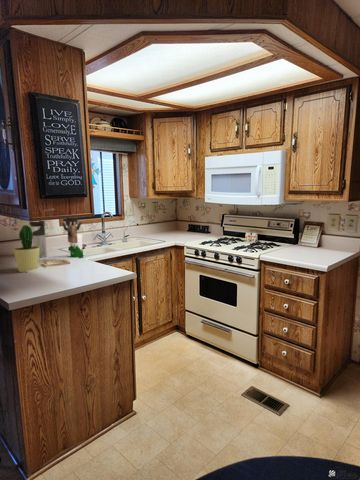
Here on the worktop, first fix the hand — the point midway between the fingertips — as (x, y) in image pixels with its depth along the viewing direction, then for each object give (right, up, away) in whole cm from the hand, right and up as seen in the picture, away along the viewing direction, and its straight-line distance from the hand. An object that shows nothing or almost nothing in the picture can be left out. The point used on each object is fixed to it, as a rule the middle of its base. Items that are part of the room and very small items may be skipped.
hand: (72, 236), depth 224 cm
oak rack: (-9, -20, -7) cm, 23 cm away
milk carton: (-3, -17, +20) cm, 26 cm away
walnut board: (0, -4, +1) cm, 4 cm away
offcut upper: (-11, -19, -5) cm, 22 cm away
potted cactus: (-22, -22, -19) cm, 37 cm away
